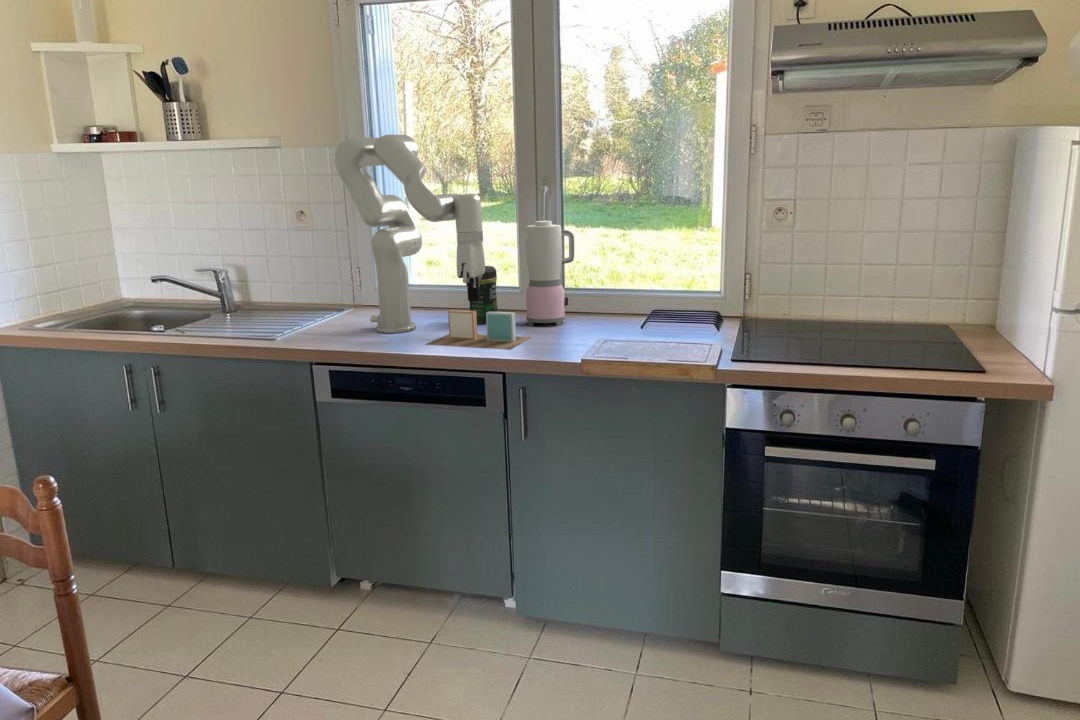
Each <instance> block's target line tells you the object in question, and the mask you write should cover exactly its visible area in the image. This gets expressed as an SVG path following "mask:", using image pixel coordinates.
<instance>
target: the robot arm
mask: <svg viewBox="0 0 1080 720" xmlns="http://www.w3.org/2000/svg"><path fill="white" fill-rule="evenodd" d="M418 155H419V147H418V144H417V142H416V141H415V140H414V138H412V137H411V136H409V135H406V134H384V135H382V136H380V137H361V136H360V137H350V138H349V137H348V138H346V139H343V140H341V141H340V142H339V143H338V144H337V147H336V149H335V152H334V166H335V169H336V172H337V175H338V176H339V178H340V180H341V181H342V183H343V185H344V186H345V188H346V189H347V191H348V193H349V194H350V197H351V199H352V201H353V203H354V205H355V207H356V209H357V212H358V214H359V215H360V217H361V219H362V221H363V222H364V224H365V225H366V226H368V227H370V228H381V229H378V230H377V231H376V232H374V234H373V235H372V236H371V237H372V238H371V241H370V246H371V251H372V252H371V253H372V256H373V259H374V263H375V264H374V265H375V272H376V281H377V292H378V294H377V295H378V296H377V297H378V307H379V314H378V315H377V314H376V315H375V314H374V315H371V317H370V319H369V320H370V322H371V323H376V324H377V325H376V326H375V330H376V332H379V333H385V334H394V333H398V334H399V333H406V332H411V331H414V330H416V329H417V323H415V322H412V314H411V302H410V301H411V300H410V299H411V298H410V284H409V283H410V282H409V273H408V268H407V265H406V263H405V260H404V257H409V256H413V255H416V254H418V253H419V252H420V251H421V248H422V245H423V239H422V234H421V231H420V230H419V227H418V226H417V223H416V222H415V220H414V218H413V216H412V214H411V211H410V209H409V207H408V206H407V204H406V202H405V201H403V199H402V198H400V196H397V195H394V194H383V193H382V192H381V191H380V190H379V188H378V186H377V184H376V181H375V180H374V178H373V177H372V176H371V175H370V174H369V173H368V172H367V171H366V170H365V169H364V168H363V167H377V166H378V167H379V166H384V167H386V168H387V169H388V171H389V172H391V174H392V175H394V177H395V178H396V179H398V181H399V182H400V183H401V184H402V185H403V188H404V189H403V190H404V193H405V196H406V199H407V201H408V203H409V204H410V206H411V207H412V208H414V210H415V211H416V212H417V213H418V214H419V215H420V216H421V217H423V218H424V219H425V220H427V221H429V222H432V223H437V222H438V223H439V222H447V221H454V220H455V230H456V241H457V246H456V275H457V278H458V279H462V283H463V284H465V286H466V288H467V301H468V302H470V301H479V300H480V279H482V275H483V274H484V273H485V266H486V262H485V252H484V246H483V243H484V233H483V232H484V231H483V219H482V206H481V205H482V202H481V196H480V195H479V194H477V193H475V194H474V193H472V194H471V193H469V194H468V193H467V194H455V193H448V194H434V193H433V192H431V191H430V190H429V189H428V188H427V187H426V185H425V184H424V183H423V181H422V180H423V179H424V177H425V174H426V171H427V170H426V169H427V168H426V165H425V164H424V163H423V162H422V161H421V160H420V159H419V158H418ZM383 227H384V228H383ZM469 276H470V277H469Z"/></svg>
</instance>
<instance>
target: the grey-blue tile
mask: <svg viewBox="0 0 1080 720" xmlns="http://www.w3.org/2000/svg"><path fill="white" fill-rule="evenodd" d="M486 323H487V325H486V335H487V340H489V341H506V342H514V341H516V336H517V333H516V313H515V312H512V311H511V312H510V311H509V312H508V311H507V312H506V311H498V312H490V311H489V312H487V313H486Z"/></svg>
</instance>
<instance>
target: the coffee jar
mask: <svg viewBox="0 0 1080 720" xmlns="http://www.w3.org/2000/svg"><path fill="white" fill-rule="evenodd" d="M469 277H470V276H469ZM497 279H498V277H497V269H496V268H495V267H494V266H492V265H485V273H484V274H483V275H482V279H480V300H479V301H469V311H476V316H477V325H482V326H483V325H484V326H485V325H486V326H487V323H486V313H487V312H489V311H490V312H499V311H498V309H499V308H498V299H497Z"/></svg>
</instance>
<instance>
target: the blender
mask: <svg viewBox="0 0 1080 720" xmlns="http://www.w3.org/2000/svg"><path fill="white" fill-rule="evenodd" d="M523 229H524V230H525V256H526V257H525V258H526V266H527V271H528V274H529V275H528V276H529V283H528V286H527V288H526V292H525V294H526V295H525V296H526V297H525V301H526V302H525V303H526V304H525V306H526V315H525V316H526V321H527V323H528V326H530V325H533V326H534V325H535V324H534V323H537V324H549V323H551V324H552V323H555V326H561V325H562V323H563V321H564V320H565V319H566V314H565V312H566V311H565V310H566V309H565V307H566V306H569V297H568V296H566V295H565V293H566V292H565V288H564V287H563V285H562V283H561V271H562V265H564V264H569V263H572V262H573V261H574V259H575V236H574V233H573V232H572V231H571V230H567V229H562V226H561V225H560V224H553V222H552V220H537V221H535V222H534V224H532V225H531V224H530V225H527V226H523ZM562 236H565V237H567V238H568V257H565V258H563V237H562Z"/></svg>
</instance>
